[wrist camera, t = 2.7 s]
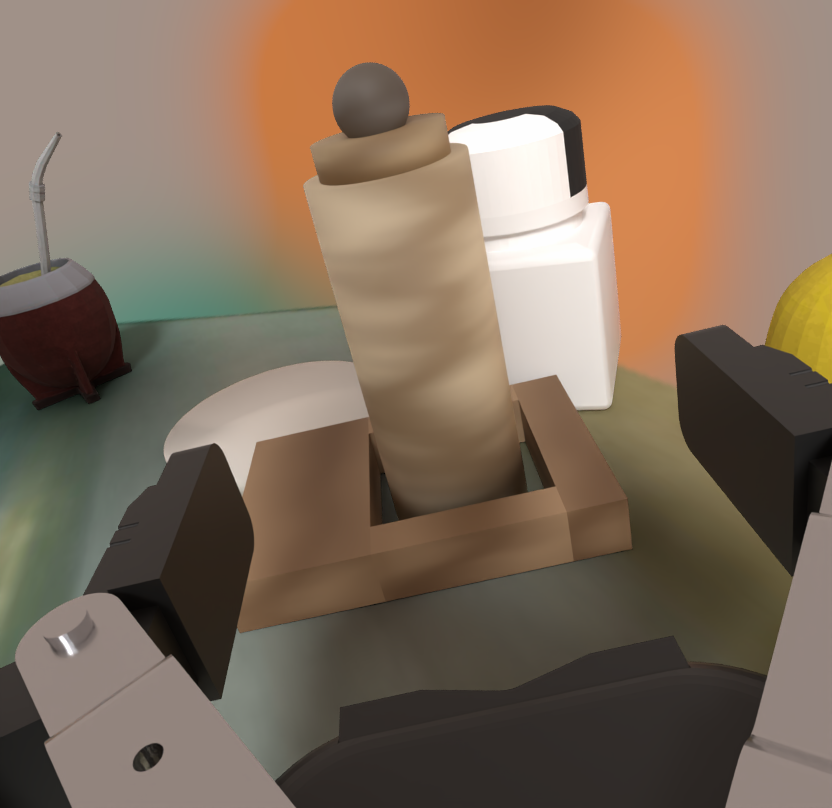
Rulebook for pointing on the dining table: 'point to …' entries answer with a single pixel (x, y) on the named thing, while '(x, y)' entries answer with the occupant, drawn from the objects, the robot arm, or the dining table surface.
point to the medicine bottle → (546, 250)
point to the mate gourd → (57, 320)
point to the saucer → (270, 411)
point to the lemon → (806, 319)
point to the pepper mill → (415, 297)
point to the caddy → (424, 535)
